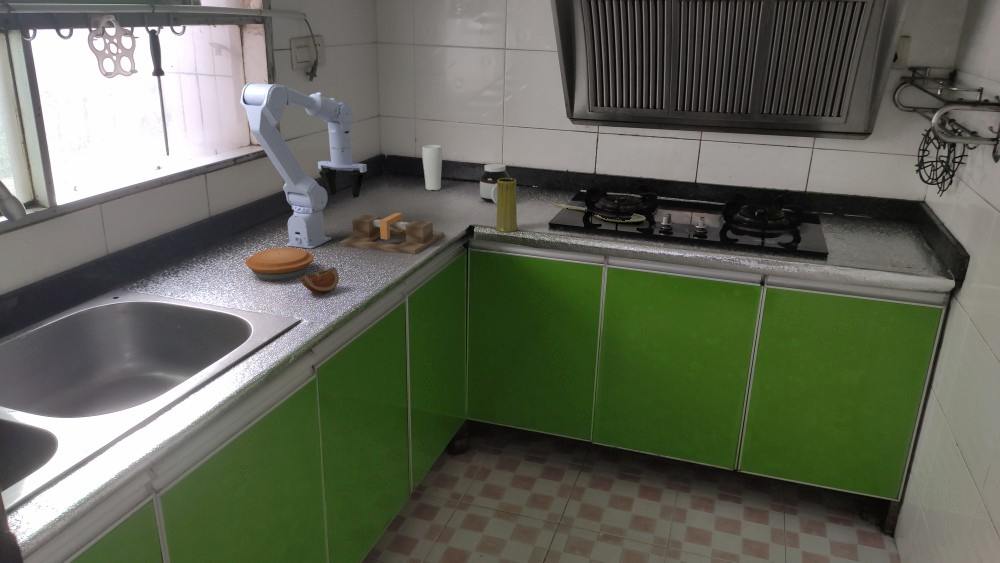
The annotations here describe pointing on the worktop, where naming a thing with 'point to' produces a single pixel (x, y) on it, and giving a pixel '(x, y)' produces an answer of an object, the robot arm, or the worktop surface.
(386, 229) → the tan wooden angled block
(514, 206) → the vase
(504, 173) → the spread jar
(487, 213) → the worktop surface
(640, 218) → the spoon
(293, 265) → the pie
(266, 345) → the worktop surface
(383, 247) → the hook stand
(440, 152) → the drinking glass
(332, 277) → the fruit slice
